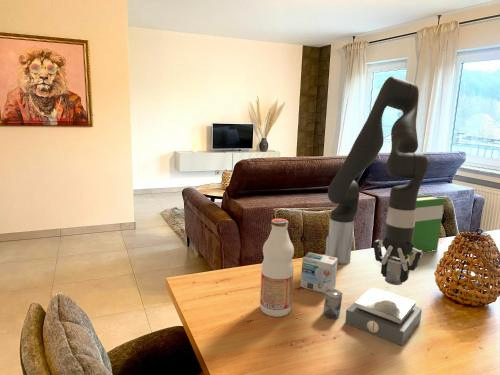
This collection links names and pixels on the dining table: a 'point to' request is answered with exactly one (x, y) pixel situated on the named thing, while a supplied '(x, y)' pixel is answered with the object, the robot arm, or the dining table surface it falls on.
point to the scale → (384, 324)
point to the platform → (385, 304)
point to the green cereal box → (427, 223)
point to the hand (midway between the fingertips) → (393, 278)
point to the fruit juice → (277, 271)
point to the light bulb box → (318, 272)
